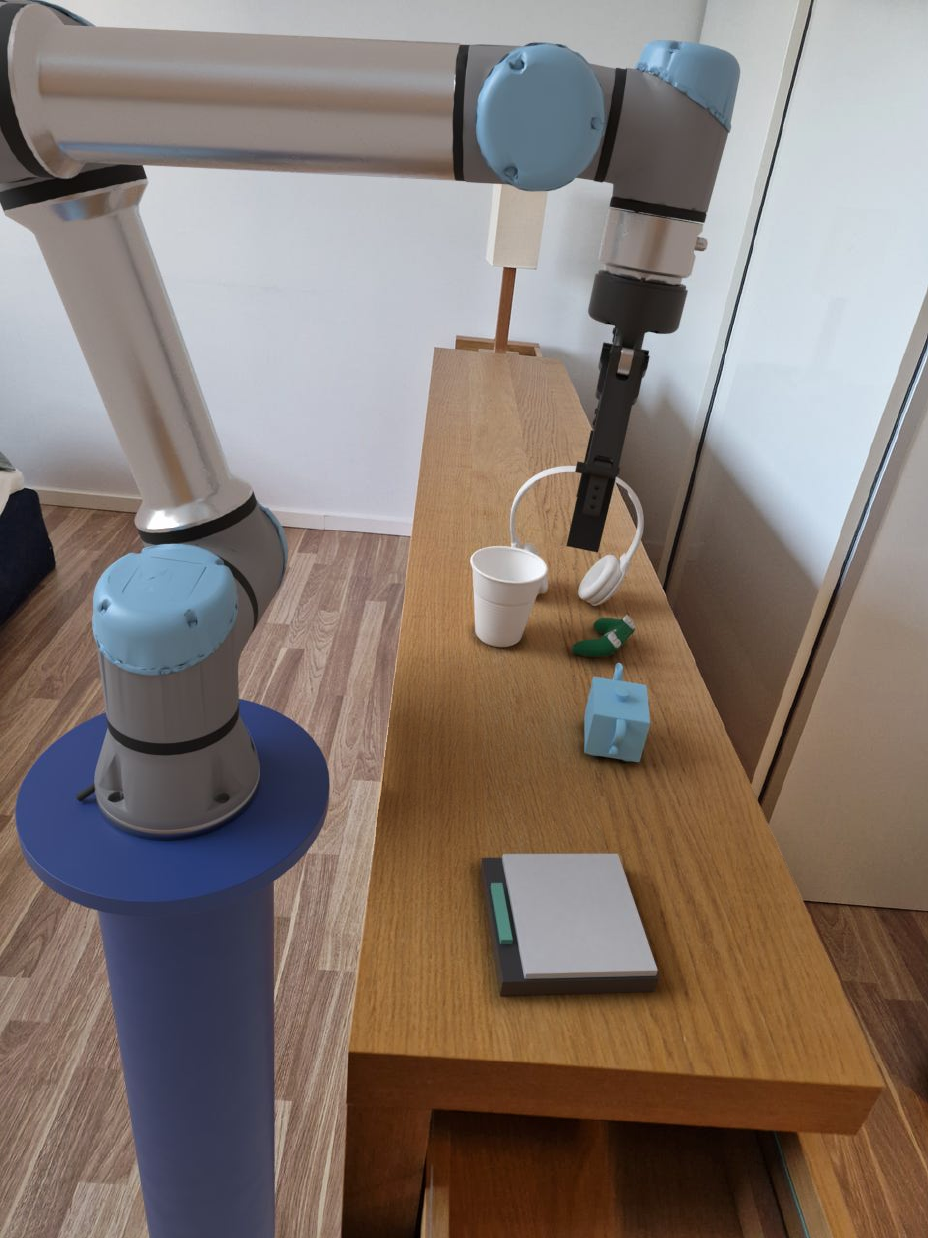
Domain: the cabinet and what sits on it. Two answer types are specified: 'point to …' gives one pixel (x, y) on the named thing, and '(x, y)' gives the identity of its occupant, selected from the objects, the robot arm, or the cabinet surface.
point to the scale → (565, 925)
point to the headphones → (604, 572)
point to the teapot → (616, 718)
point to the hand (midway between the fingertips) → (586, 521)
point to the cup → (504, 592)
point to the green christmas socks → (606, 637)
